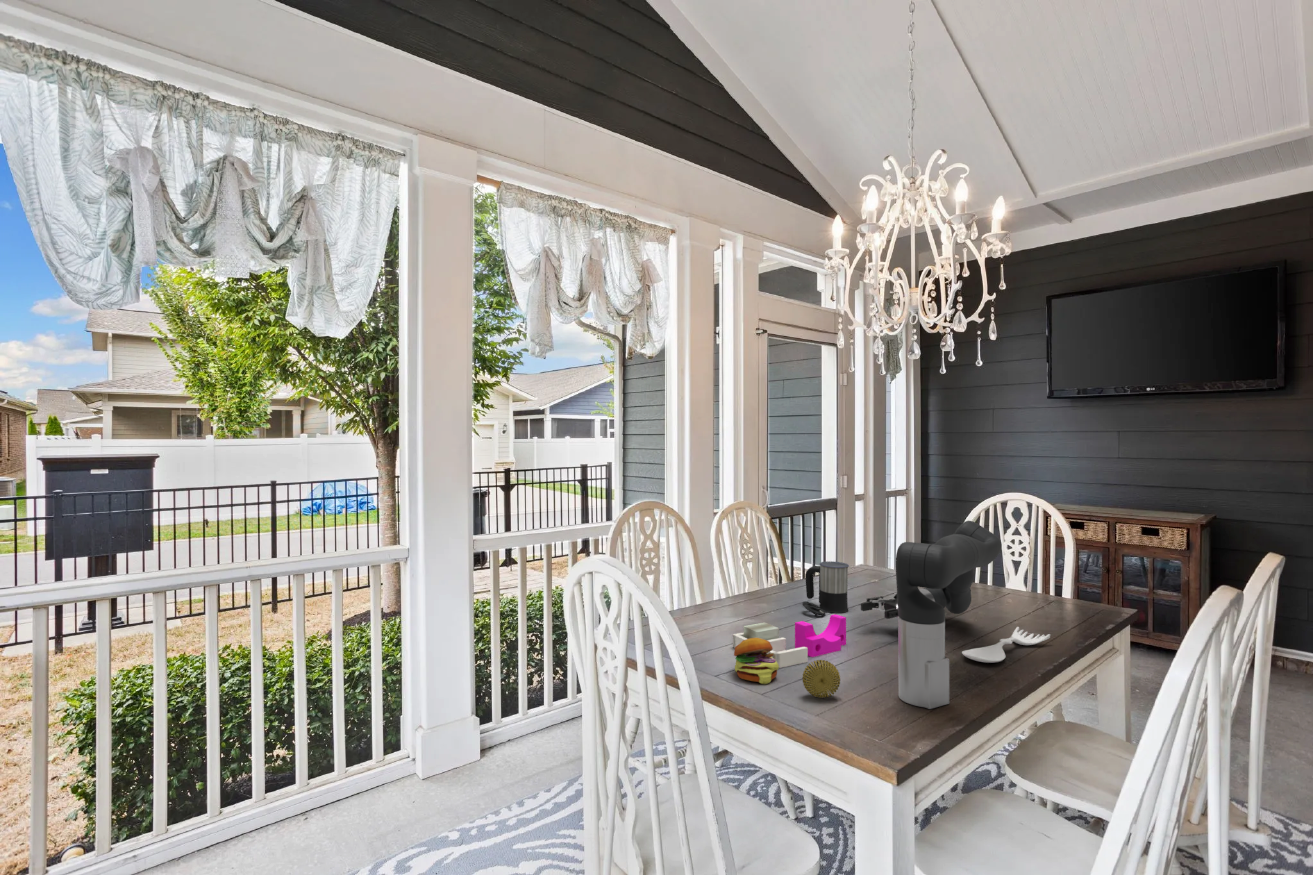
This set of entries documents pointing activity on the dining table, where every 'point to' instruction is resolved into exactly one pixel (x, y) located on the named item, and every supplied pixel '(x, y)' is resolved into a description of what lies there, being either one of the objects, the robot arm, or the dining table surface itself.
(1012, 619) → the dining table surface
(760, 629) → the sage block
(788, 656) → the lane rack
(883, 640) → the dining table surface
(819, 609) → the milk frother
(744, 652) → the cheeseburger
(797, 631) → the toy block
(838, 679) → the sculpture
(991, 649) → the white long tined part
